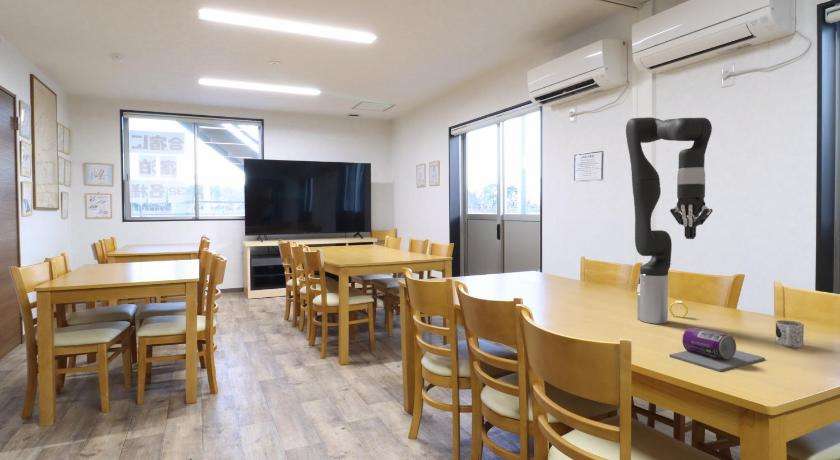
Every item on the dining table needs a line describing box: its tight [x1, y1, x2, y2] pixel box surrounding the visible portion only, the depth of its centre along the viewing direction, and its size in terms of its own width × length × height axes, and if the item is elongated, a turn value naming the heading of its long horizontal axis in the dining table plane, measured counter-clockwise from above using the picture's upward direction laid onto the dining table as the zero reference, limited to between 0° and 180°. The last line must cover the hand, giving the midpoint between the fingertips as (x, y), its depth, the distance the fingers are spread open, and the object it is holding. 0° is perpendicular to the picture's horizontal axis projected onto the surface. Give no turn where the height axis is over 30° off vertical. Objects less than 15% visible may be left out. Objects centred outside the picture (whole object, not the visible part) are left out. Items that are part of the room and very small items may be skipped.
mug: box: [775, 319, 805, 349], centre depth 144 cm, size 10×7×7 cm
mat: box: [669, 349, 766, 373], centre depth 133 cm, size 14×20×1 cm
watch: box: [669, 300, 689, 319], centre depth 182 cm, size 6×3×6 cm, turn 53°
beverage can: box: [681, 326, 737, 359], centre depth 134 cm, size 7×7×12 cm
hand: (690, 238), depth 150 cm, fingers closed
